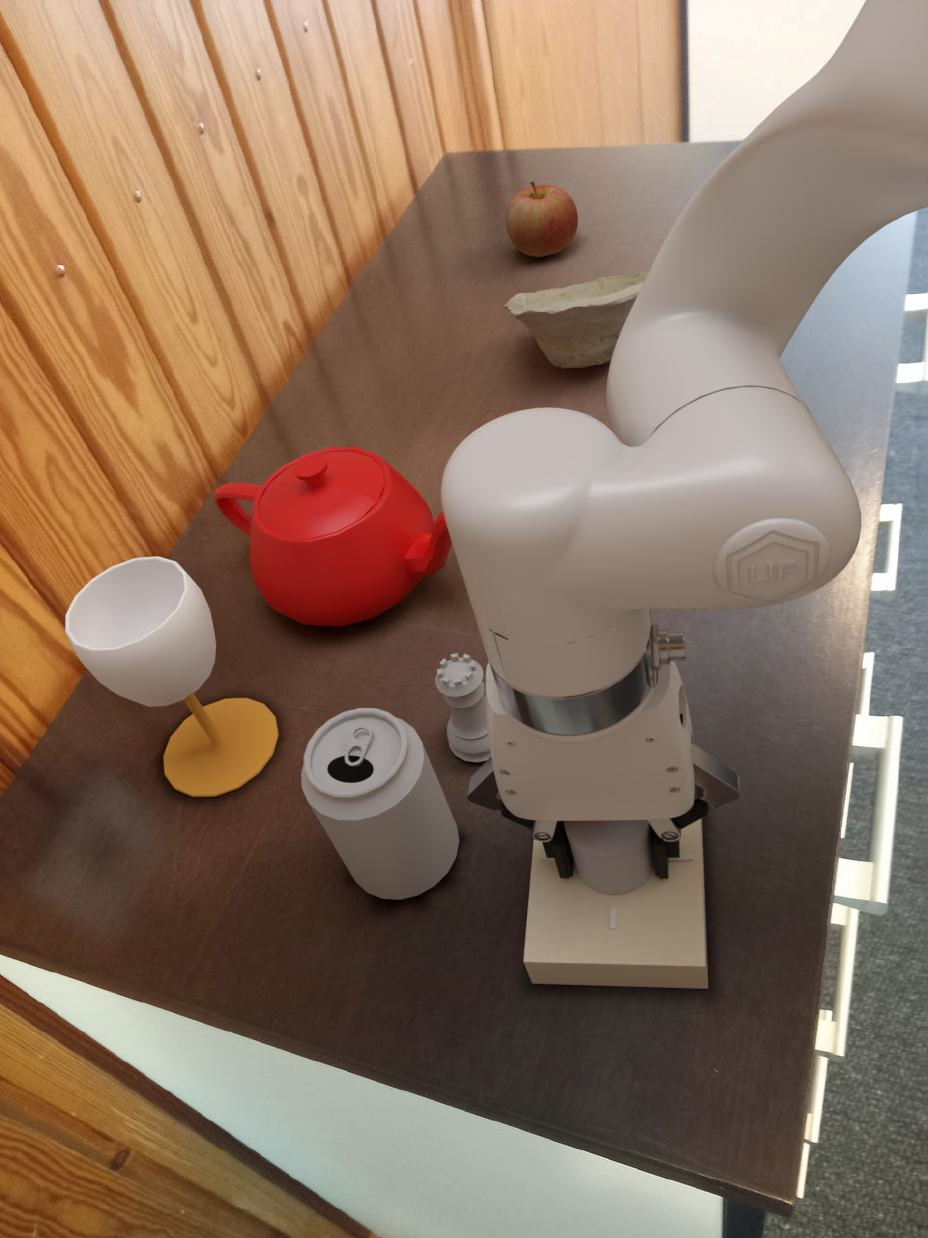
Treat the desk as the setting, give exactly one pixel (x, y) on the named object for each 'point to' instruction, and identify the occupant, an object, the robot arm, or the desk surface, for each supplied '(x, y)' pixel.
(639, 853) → the knob
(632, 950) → the panel
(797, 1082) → the desk surface
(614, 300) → the bowl
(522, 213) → the apple
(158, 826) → the desk surface
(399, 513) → the teapot
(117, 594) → the cup
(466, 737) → the rook chess piece
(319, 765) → the can
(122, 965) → the desk surface
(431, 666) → the desk surface
